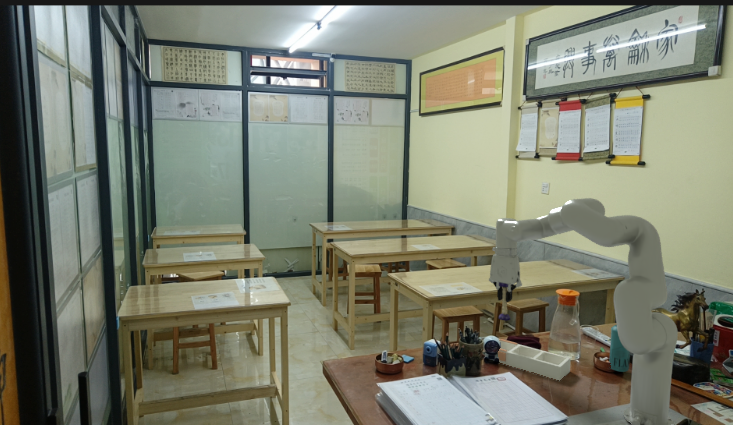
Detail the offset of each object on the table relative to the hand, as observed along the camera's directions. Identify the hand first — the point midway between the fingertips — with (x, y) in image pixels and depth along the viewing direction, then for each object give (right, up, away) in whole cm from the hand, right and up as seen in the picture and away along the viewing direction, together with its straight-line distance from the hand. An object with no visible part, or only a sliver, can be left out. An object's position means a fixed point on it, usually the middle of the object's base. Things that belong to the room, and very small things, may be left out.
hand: (504, 300), depth 177 cm
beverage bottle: (+37, -24, -9) cm, 45 cm away
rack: (+7, -23, -3) cm, 24 cm away
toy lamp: (0, -7, +1) cm, 7 cm away
